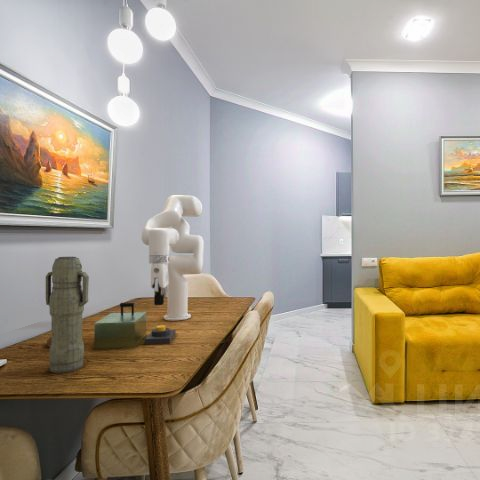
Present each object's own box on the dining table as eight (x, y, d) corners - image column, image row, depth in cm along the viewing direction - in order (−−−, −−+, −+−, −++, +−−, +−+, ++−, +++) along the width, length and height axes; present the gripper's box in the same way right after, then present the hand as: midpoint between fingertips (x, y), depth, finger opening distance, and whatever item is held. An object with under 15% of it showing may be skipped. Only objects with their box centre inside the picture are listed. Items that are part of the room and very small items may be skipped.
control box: (152, 335, 146) (152, 326, 146) (175, 334, 148) (175, 325, 148) (144, 344, 134) (144, 334, 134) (169, 343, 136) (169, 333, 136)
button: (157, 329, 142) (157, 325, 142) (166, 329, 143) (166, 325, 143) (155, 332, 139) (155, 327, 139) (164, 331, 140) (164, 327, 140)
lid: (111, 314, 144) (111, 301, 144) (146, 313, 147) (146, 301, 147) (94, 325, 128) (94, 310, 128) (134, 323, 131) (135, 309, 131)
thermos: (82, 371, 108) (82, 258, 107) (37, 374, 105) (38, 258, 105) (93, 361, 117) (94, 256, 116) (53, 363, 114) (53, 256, 113)
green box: (110, 336, 143) (110, 315, 143) (146, 335, 146) (146, 314, 146) (94, 349, 128) (94, 325, 128) (134, 347, 131) (134, 324, 131)
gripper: (165, 261, 134) (165, 308, 135) (172, 257, 149) (172, 300, 150) (144, 261, 133) (144, 309, 133) (153, 257, 147) (153, 300, 148)
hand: (159, 304), depth 141 cm, fingers closed
